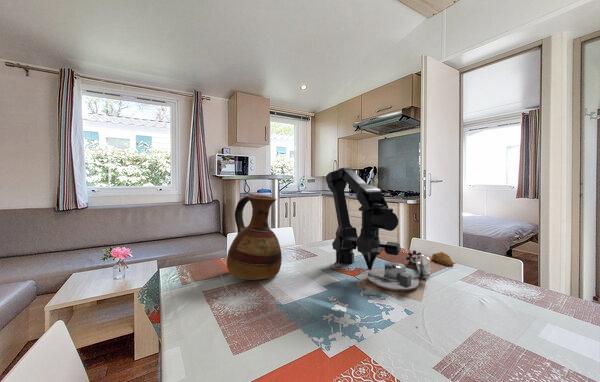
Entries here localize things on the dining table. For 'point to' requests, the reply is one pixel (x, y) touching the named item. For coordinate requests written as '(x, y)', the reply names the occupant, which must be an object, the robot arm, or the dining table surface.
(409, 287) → the turntable
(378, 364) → the dining table surface
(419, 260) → the dial gauge
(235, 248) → the ceramic pitcher
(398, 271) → the cover
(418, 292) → the base board
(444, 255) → the croissant
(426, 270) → the valve
